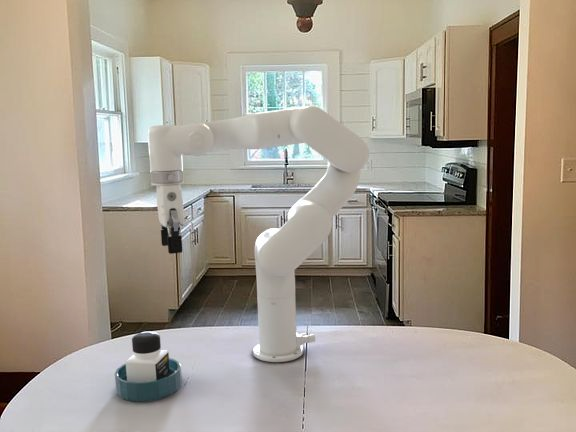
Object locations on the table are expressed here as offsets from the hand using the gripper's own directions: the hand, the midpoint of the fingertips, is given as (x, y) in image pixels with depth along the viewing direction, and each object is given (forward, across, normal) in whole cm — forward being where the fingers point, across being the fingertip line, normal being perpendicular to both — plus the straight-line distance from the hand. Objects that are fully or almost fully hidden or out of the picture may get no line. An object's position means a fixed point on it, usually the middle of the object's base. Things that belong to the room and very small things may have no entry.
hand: (171, 248), depth 144 cm
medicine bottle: (+28, -13, +9) cm, 32 cm away
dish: (+28, -13, +9) cm, 32 cm away
